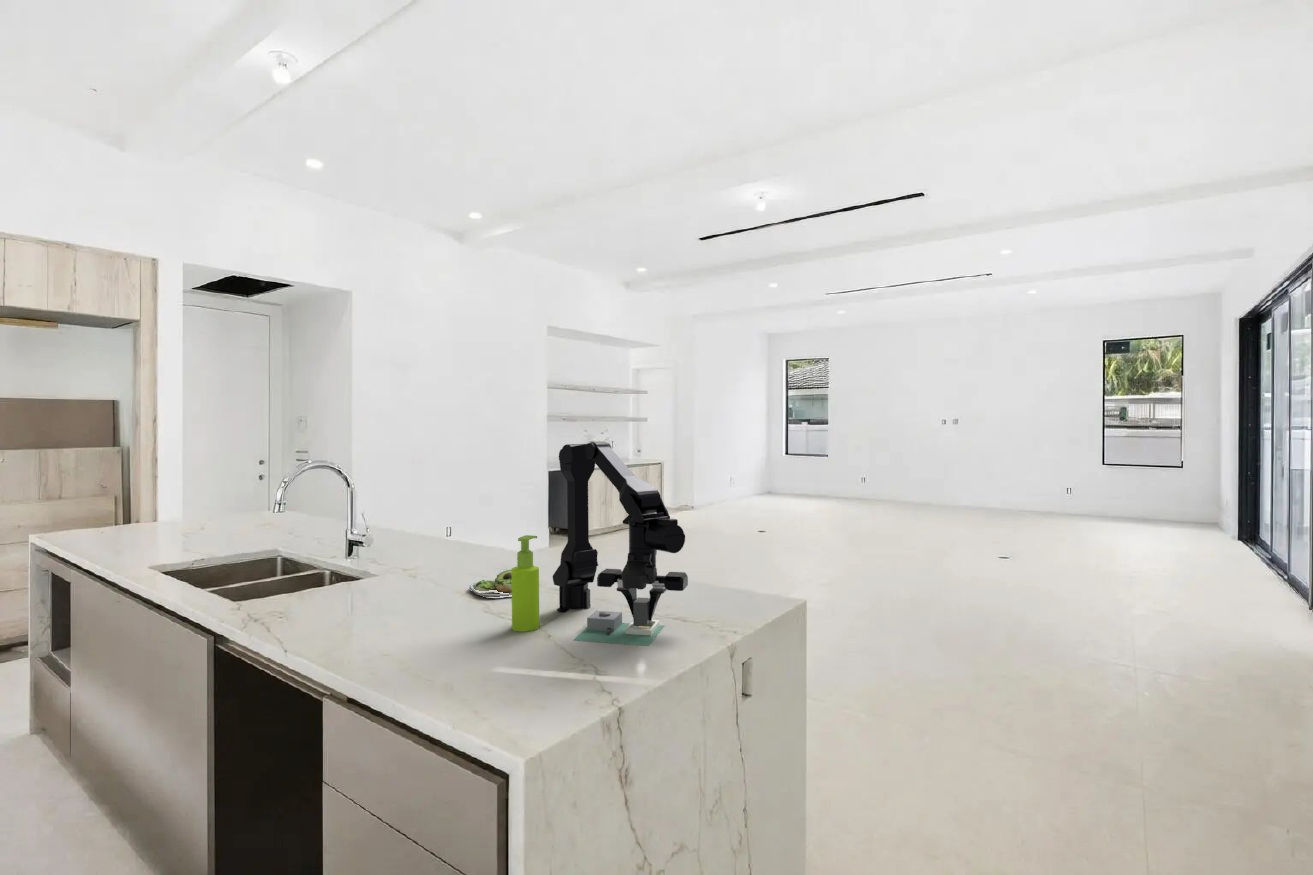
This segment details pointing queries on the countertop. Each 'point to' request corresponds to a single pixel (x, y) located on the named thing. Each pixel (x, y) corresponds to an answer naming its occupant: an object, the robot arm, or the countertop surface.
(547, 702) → the countertop surface
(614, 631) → the board
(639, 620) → the plug
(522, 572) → the soap dispenser
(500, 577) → the salad plate
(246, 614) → the countertop surface
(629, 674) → the countertop surface
